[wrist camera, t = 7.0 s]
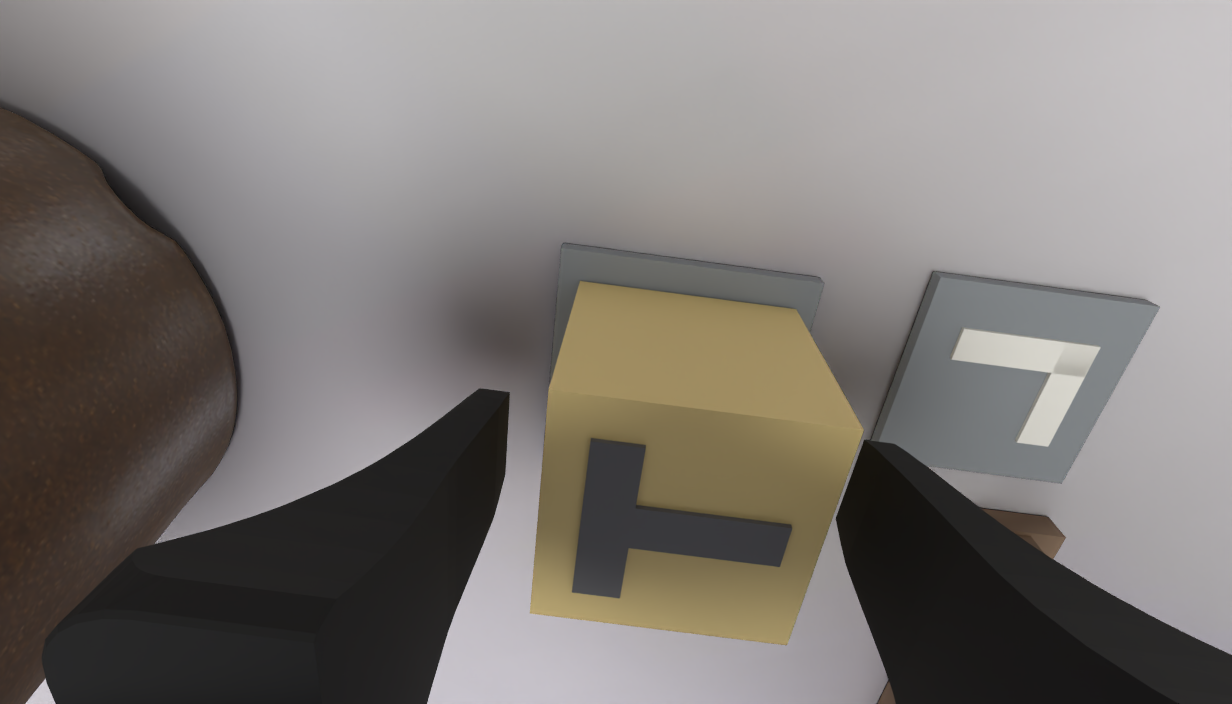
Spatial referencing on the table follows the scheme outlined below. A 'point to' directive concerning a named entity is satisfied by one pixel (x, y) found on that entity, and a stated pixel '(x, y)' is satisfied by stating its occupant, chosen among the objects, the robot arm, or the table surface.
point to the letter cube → (687, 465)
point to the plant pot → (91, 388)
